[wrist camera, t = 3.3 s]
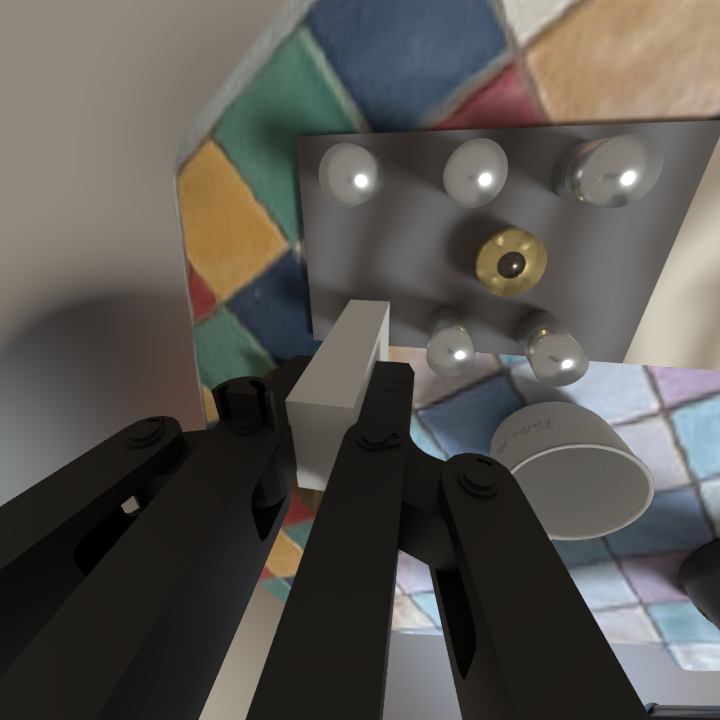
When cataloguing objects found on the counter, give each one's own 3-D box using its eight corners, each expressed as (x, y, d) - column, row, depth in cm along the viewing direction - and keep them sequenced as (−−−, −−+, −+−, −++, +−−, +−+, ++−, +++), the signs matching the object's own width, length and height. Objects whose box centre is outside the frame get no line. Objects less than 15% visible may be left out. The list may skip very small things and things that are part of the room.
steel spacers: (615, 141, 20) (676, 131, 15) (553, 348, 27) (580, 388, 22) (342, 149, 23) (316, 143, 18) (348, 333, 30) (331, 366, 25)
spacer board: (982, 112, 18) (1005, 109, 17) (793, 371, 25) (803, 376, 25) (299, 137, 24) (295, 136, 24) (316, 336, 32) (313, 339, 31)
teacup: (518, 369, 30) (543, 428, 23) (637, 408, 29) (698, 480, 22) (455, 469, 37) (460, 537, 30) (550, 502, 37) (576, 578, 30)
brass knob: (541, 224, 23) (552, 228, 21) (532, 286, 25) (541, 296, 23) (475, 228, 24) (479, 233, 22) (471, 288, 26) (474, 297, 24)
